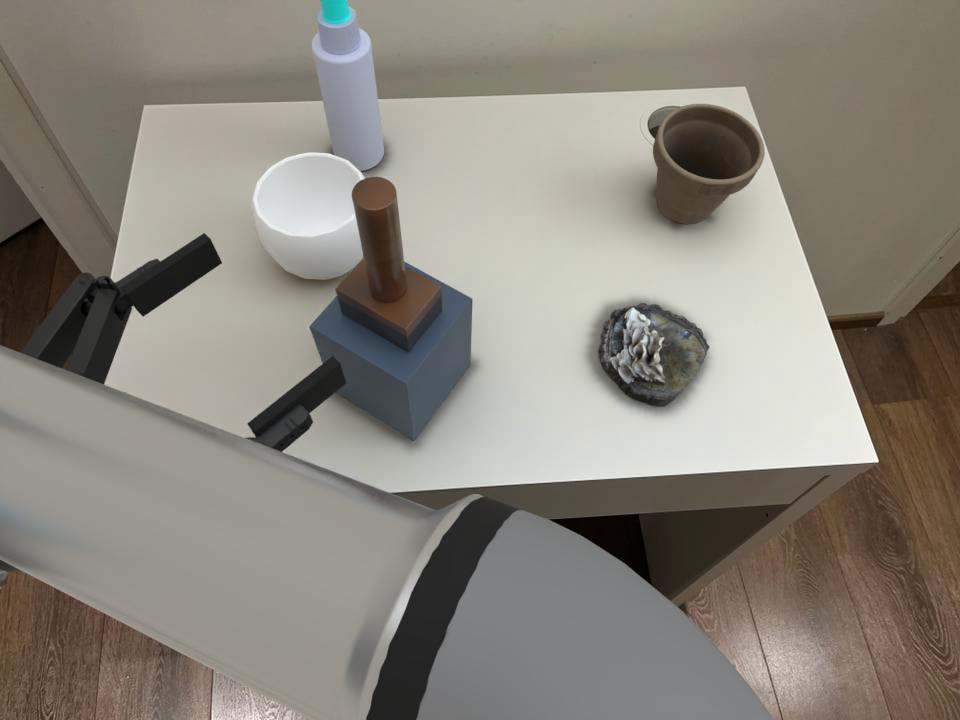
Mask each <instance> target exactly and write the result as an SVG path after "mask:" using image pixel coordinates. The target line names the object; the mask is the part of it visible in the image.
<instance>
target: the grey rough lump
mask: <svg viewBox="0 0 960 720" xmlns="http://www.w3.org/2000/svg"><path fill="white" fill-rule="evenodd" d="M600 340H601V342H600V344H599V347H598V350H597V352H598V359H599V362H600V365H601V368H602V370H603V371H604V372H605V373H606V374H607V375H608V376H609V378H610V379H611V380H612V381H613V382H614V383H615V384H616V385H617V386H618V388H619V389H620V390H621V391H622V392H623V393H624V394H625V395H626V396H627V397H629V398H630V399H632V400H634V401H636V402H641V403H643V404H647V405H649V406H654V407H660V408H661V407H666V406H667V405H669V404H670V403H672V402H673V401H674V400H676V399H677V398H678V397H679V395H680V394H681V393H682V392H683V391H684V390H685V388H686V387H687V386H688V385H689V383H690V382H691V381H692V380H693V379H694V377H695V376H696V374H697V373H698V372H699V370H700V368H701V366H702V365H703V363H704V360H705V358H706V356H707V352H708V351H709V349H710V345H709V344H708V343H707V339H706V338H705V337H704V333H703V330H702V329H701V328H700V327H698V326H697V325H696V323H694V322H691V321H689V320H688V319H687V318H686V317H685V316H683V315H678V314H676V313H673V312H672V311H671V310H665V309H663V307H661V306H660V304H656V303H652V304H648V303H645V302H640V303H638V304H636V305H630V306H626V307H623V308H619V309H618V308H617V309H615V310H613V311H612V312H611V314H610V319H608V320H606V321H605V322H604V324H603V331H602V332H601V334H600Z"/></svg>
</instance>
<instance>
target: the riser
mask: <svg viewBox="0 0 960 720" xmlns="http://www.w3.org/2000/svg"><path fill="white" fill-rule="evenodd" d="M404 264H405V266H406V267H407V268H409V269H411V270H413V271H415V272H417V273H418V274H420V275H422V276H424V277H426V278H428V279H429V280H431V281H433V282H435V283H437V284H439V285H440V286H441V292H442V294H441V295H442V312H441V313H440V314H439V315H438V317H437V318H436V319H435V320H434V322H433V323H432V324H431V325H430V327H429V328H428V329H427V330H426V332H425V333H424V334H423V335H422V337H421V338H420V339H419V340H418V342H417V343H416V344H415V345H414V347H413V348H412V349H411V350H410V352H407V351H405V350H403V349H402V348H400V347H398V346H396V345H395V344H393V343H391V342H390V341H388V340H386V339H384V338H383V337H381V336H379V335H378V334H376V333H374V332H372V331H371V330H369V329H367V328H366V327H364V326H362V325H360V324H359V323H357V322H355V321H354V320H352V319H350V318H348V317H347V316H345V315H343V314H342V313H341V309H340V305H339V301H338V297H337V295H336V296H335V297H334V299H333V300H332V301H331V302H330V303H329V304H328V305H327V306H326V307H325V308H324V310H323V311H322V312H320V314H319V315H318V316H317V317H316V318H315V319H314V321H313V322H312V323H311V324H310V325H309V330H310V332H311V336H312V338H313V341H314V344H315V346H316V350H317V352H318V355H319V358H320V360H321V363H322V364H323V363H324V362H326V361H327V360H328V359H329V358H331V357H332V356H333V357H334V358H335V359H336V360H337V361H338V362H339V363H340V364H341V367H342V370H343V374H344V377H345V380H346V384H345V385H344V386H342V387H341V388H340V389H339V390H338V391H336V392H335V394H337V395H339V396H340V397H342V398H344V399H346V400H347V401H349V402H350V403H352V404H353V405H355V406H357V407H358V408H360V409H362V410H363V411H364V412H366V413H368V414H370V415H372V416H374V417H375V418H376V419H377V420H379V421H382V422H383V423H384V424H386V425H388V426H389V427H391V428H392V429H394V430H395V431H397V432H399V433H401V434H402V435H404V436H406V437H407V438H408V439H410V440H412V441H416V440H417V438H418V437H419V436H420V434H421V433H422V431H423V430H424V428H425V427H426V426H427V425H428V423H429V422H430V421H431V419H432V418H433V416H434V415H435V414H436V413H437V411H438V410H439V408H440V407H441V406H442V404H443V403H444V402H445V400H446V399H447V397H448V396H449V395H450V394H451V392H452V391H453V389H455V387H456V385H457V384H458V383H459V381H460V380H461V379H462V377H463V376H464V374H465V373H466V372H467V371H468V369H469V368H470V366H471V365H472V364H471V363H472V332H473V331H472V329H473V303H474V302H473V300H474V299H473V298H472V297H470V296H468V295H466V294H465V293H464V292H461V291H459V290H458V289H456V288H454V287H452V286H451V285H448V284H447V283H445V282H442V281H441V280H439V279H438V278H435V277H434V276H432V275H430V274H428V273H426V271H425V272H424V271H423V270H421V269H419V268H417V267H416V266H414V265H412V264H409V263H408V262H406V261H404ZM322 364H321V365H322Z"/></svg>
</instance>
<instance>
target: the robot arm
mask: <svg viewBox="0 0 960 720" xmlns="http://www.w3.org/2000/svg"><path fill="white" fill-rule="evenodd" d="M222 264H223V261H222V259H221V257H220V255H219V253H218V251H217V249H216V247H215V245H214V243H213V240H212V239H211V238H210V237H209V236H208V235H207V234H206V233H205V232H203V233H202V234H200V235H199V236H197V237H196V238H194V239H193V240H191V241H190V242H188V243H186V244H185V245H183V246H182V247H180V248H179V249H177V250H176V251H174V252H173V253H171V254H170V255H168V256H167V257H165V258H164V259H162V260H161V261H160V260H159V259H158V258H154V259H152V260H149V261H147V262H145V263H144V264H142V265H141V266H139V267H137V269H135V270H133V271H132V272H130V273H129V274H127V275H126V276H124V277H122V278H121V279H119V280H117V281H116V282H114V281H113V279H112V278H111V277H110V276H108V275H101V276H97V278H95V276H94V275H93V274H92V273H90V272H85V271H84V272H81V273H79V274H78V275H77V276H76V277H75V278H74V279H73V280H72V282H71V283H70V284H69V286H68V287H67V288H66V290H65V291H64V293H63V294H62V295H61V297H60V298H59V299H58V301H57V302H56V303H55V305H54V306H53V307H52V308H51V310H50V311H49V313H48V314H47V315H46V317H44V320H43V321H42V322H41V323H40V325H39V326H38V327H37V329H36V330H35V331H34V333H33V334H32V335H31V337H30V338H29V339H28V341H27V342H26V343H25V345H24V346H23V347H22V349H21V350H20V351H16V350H15V349H12V348H8V347H6V346H3V345H1V344H0V590H2V589H3V588H4V587H5V586H6V585H7V584H8V579H9V578H8V577H9V573H10V574H11V573H12V574H16V573H25V574H27V575H29V576H31V577H33V578H35V579H37V580H39V581H41V582H43V583H44V584H47V585H48V586H51V587H52V588H54V589H56V590H58V591H60V592H61V593H64V594H66V595H68V596H70V597H71V598H74V599H76V600H77V601H79V602H81V603H83V604H85V605H87V606H89V607H91V608H93V609H95V610H97V611H98V612H101V613H103V614H105V615H106V616H108V617H111V618H112V619H114V620H115V621H118V622H120V623H122V624H124V625H126V626H128V627H130V628H131V629H133V630H135V631H138V632H139V633H141V634H143V635H146V636H147V637H149V638H151V639H153V640H154V641H157V642H159V643H161V644H162V645H165V646H166V647H169V649H170V648H171V649H172V650H175V651H176V652H178V653H180V654H182V655H184V656H186V657H188V658H190V659H191V660H193V661H196V662H198V663H199V664H201V665H203V666H205V667H206V668H209V669H211V670H213V671H215V672H217V673H219V674H221V675H222V676H224V677H226V678H228V679H231V680H232V681H234V682H235V683H238V684H239V685H241V686H243V687H246V688H248V689H250V690H252V691H253V692H255V693H257V694H259V695H261V696H263V697H265V698H267V699H269V700H271V701H272V702H275V703H277V704H278V705H281V706H282V707H284V708H286V709H288V710H290V711H292V712H294V713H296V714H298V715H300V716H301V717H304V718H306V719H308V720H775V719H774V717H773V716H772V714H771V713H770V711H769V710H768V709H767V707H766V706H765V704H764V703H763V701H762V700H761V699H760V698H759V696H758V695H757V693H756V692H755V691H754V689H753V688H752V687H751V685H750V684H749V683H748V681H746V679H745V678H744V677H743V676H742V674H741V673H740V672H739V670H737V668H736V667H735V666H734V665H733V664H732V662H731V661H730V660H729V659H728V657H727V656H726V655H725V654H724V653H723V651H721V649H719V648H718V646H716V644H715V643H714V642H713V641H712V640H711V639H709V637H708V636H707V635H706V634H705V633H704V632H703V631H702V630H701V629H700V627H698V626H697V625H696V623H694V621H692V619H691V618H690V617H689V616H688V615H687V614H686V613H685V612H684V611H683V610H682V609H680V608H679V607H678V606H677V605H676V604H675V603H674V602H672V601H671V600H670V599H668V598H667V597H666V596H664V595H663V594H662V593H661V592H660V591H659V590H657V589H656V588H655V587H653V586H652V585H651V584H650V583H649V582H648V581H647V580H645V579H644V578H643V577H641V576H640V575H639V574H638V573H637V572H635V570H633V569H632V568H631V567H629V566H628V565H627V564H625V562H623V561H622V560H620V559H618V558H617V557H615V556H614V555H612V554H611V553H609V552H608V551H606V550H604V549H603V548H601V547H600V546H598V545H597V544H595V543H594V542H592V541H590V540H589V539H588V538H585V537H584V536H582V535H581V534H579V533H577V532H574V531H573V530H572V529H569V528H566V527H565V526H563V525H560V524H559V523H556V522H554V521H553V520H550V519H548V518H545V517H542V516H540V515H537V514H534V513H532V512H529V511H526V510H525V509H520V508H518V507H515V506H512V505H510V504H507V503H504V502H502V501H499V500H495V499H493V498H491V497H488V496H485V495H481V494H479V493H472V494H469V495H467V496H465V497H463V498H461V499H459V500H456V501H455V502H453V503H451V504H449V505H446V506H445V507H442V508H439V509H433V508H431V507H428V506H426V505H423V504H420V503H417V502H415V501H412V500H409V499H407V498H404V497H402V496H399V495H396V494H394V493H391V492H389V491H386V490H383V489H380V488H378V487H375V486H372V485H370V484H368V483H366V482H362V481H359V480H357V479H354V478H352V477H349V476H346V475H343V474H341V473H339V472H336V471H333V470H330V469H328V468H325V467H322V466H320V465H318V464H315V463H313V462H310V461H307V460H304V459H301V458H298V457H296V456H294V455H291V454H288V453H287V452H283V451H285V450H286V449H287V448H288V447H290V446H291V445H293V443H295V442H296V441H297V440H298V439H299V438H301V437H302V436H303V435H304V434H306V433H307V432H308V431H309V430H310V429H311V427H312V425H313V423H314V421H313V418H312V415H311V413H312V412H313V411H314V410H316V409H317V408H319V406H321V405H322V404H323V403H324V402H326V401H327V400H328V399H329V398H330V397H332V396H333V395H334V394H336V391H338V390H339V389H340V388H341V387H342V386H344V385H345V384H346V380H345V377H344V374H343V370H342V367H341V364H340V363H339V362H338V361H337V360H336V359H335V358H334V357H333V356H332V357H331V358H329V359H328V360H327V361H326V362H324V363H323V364H321V365H319V366H318V367H316V369H314V370H313V371H311V372H310V373H309V374H308V375H306V376H305V377H304V378H303V379H301V380H300V381H299V382H298V383H296V384H295V385H294V386H292V387H291V388H290V389H289V390H287V391H286V392H285V393H284V394H282V395H281V396H280V397H278V398H277V399H276V400H275V401H274V402H272V403H271V404H270V405H268V406H267V407H266V408H264V410H262V411H261V412H259V413H258V414H257V415H256V416H254V417H253V418H252V419H251V420H250V421H248V422H247V424H246V425H247V426H248V427H249V430H251V432H252V434H253V435H254V436H255V437H254V436H251V437H250V436H249V437H244V436H241V435H239V434H236V433H233V432H230V431H228V430H225V429H222V428H219V427H217V426H214V425H212V424H209V423H206V422H204V421H201V420H198V419H196V418H193V417H191V416H188V415H185V414H183V413H180V412H177V411H175V410H173V409H169V408H167V407H164V406H161V405H159V404H156V403H154V402H151V401H148V400H146V399H144V398H141V397H138V396H136V395H132V394H130V393H127V392H125V391H123V390H120V389H117V388H114V387H112V386H108V385H106V384H105V383H106V380H107V377H108V374H109V372H110V370H111V367H112V365H113V361H114V359H115V357H116V354H117V350H118V348H119V346H120V343H121V340H122V337H123V335H124V333H125V332H124V331H125V329H126V327H127V324H128V322H129V319H130V316H131V314H132V310H133V307H134V309H135V310H136V311H137V312H138V314H140V315H141V317H146V316H147V315H148V314H150V313H151V312H153V311H154V310H156V309H157V308H158V307H160V306H161V305H163V304H164V303H166V302H168V301H169V300H170V299H171V298H173V297H175V296H177V295H178V294H179V293H180V292H182V291H183V290H185V289H186V288H188V287H189V286H191V285H192V284H194V283H195V282H197V281H199V280H200V279H202V278H203V277H204V276H205V275H207V274H208V273H210V272H211V271H213V270H214V269H216V268H217V267H219V266H221V265H222ZM67 362H68V363H67ZM65 364H66V367H65V369H64V366H65Z"/></svg>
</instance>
